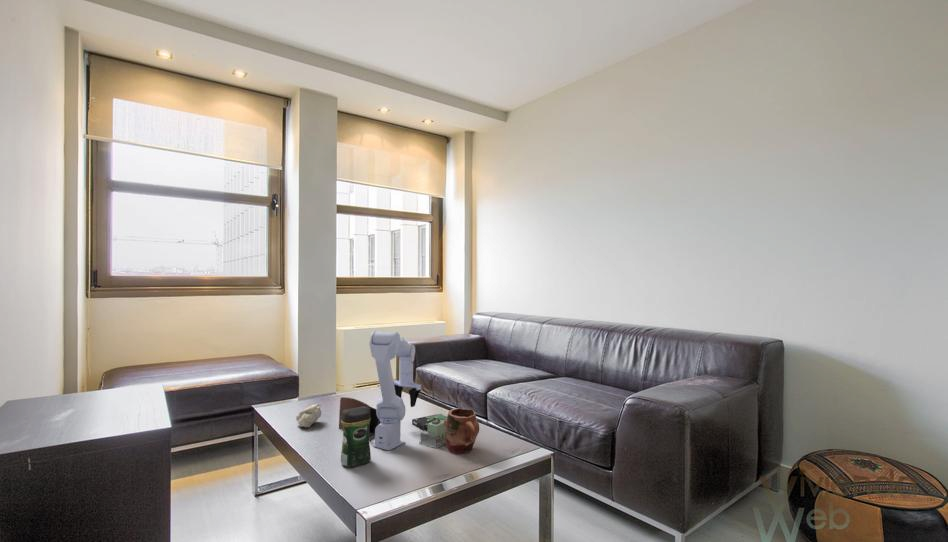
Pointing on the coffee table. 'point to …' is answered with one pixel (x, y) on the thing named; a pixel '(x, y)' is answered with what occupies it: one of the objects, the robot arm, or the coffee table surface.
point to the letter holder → (353, 403)
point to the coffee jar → (355, 437)
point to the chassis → (432, 439)
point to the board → (436, 427)
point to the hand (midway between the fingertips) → (405, 404)
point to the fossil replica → (309, 416)
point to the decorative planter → (461, 430)
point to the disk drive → (426, 421)
